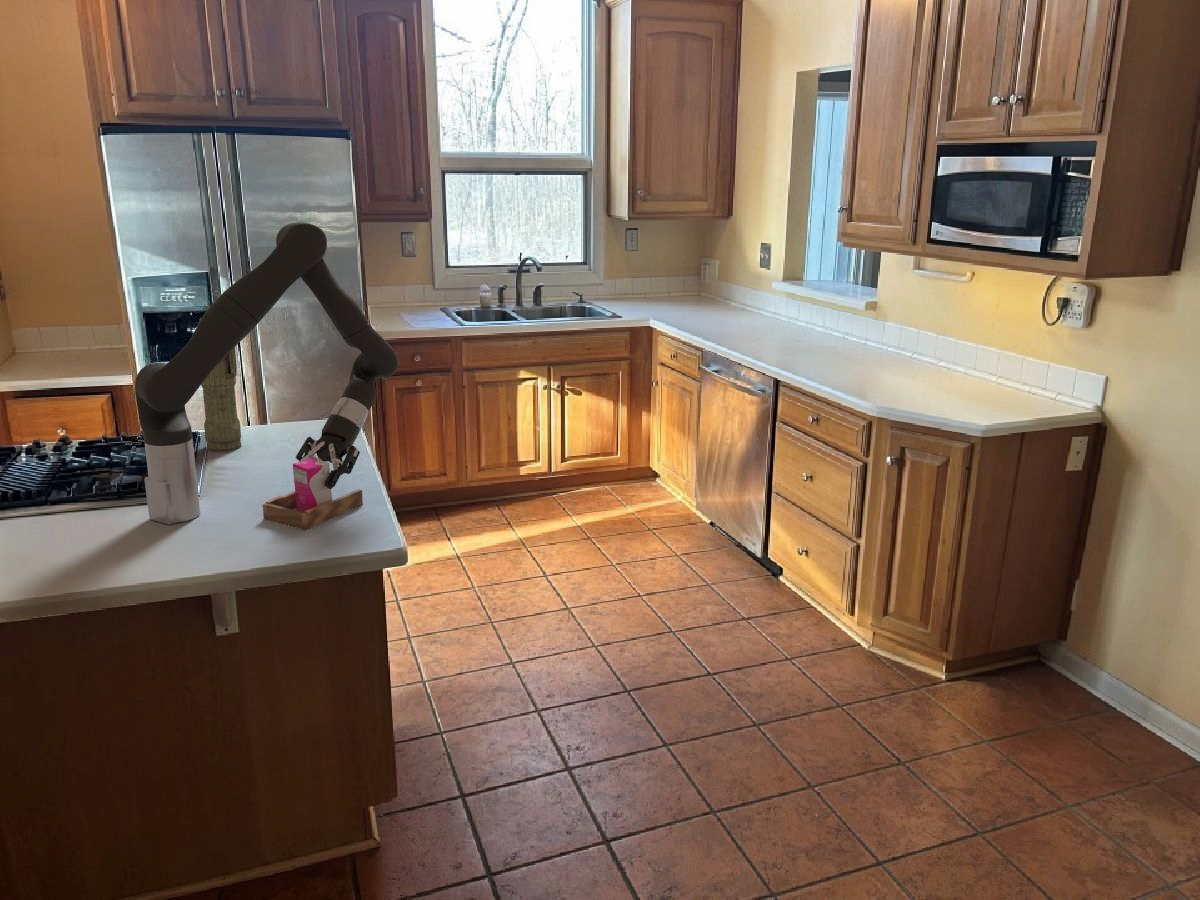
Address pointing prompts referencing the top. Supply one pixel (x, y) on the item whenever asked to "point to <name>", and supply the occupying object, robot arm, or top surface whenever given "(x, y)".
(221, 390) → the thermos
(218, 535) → the top surface
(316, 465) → the supplement box
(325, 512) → the channel
